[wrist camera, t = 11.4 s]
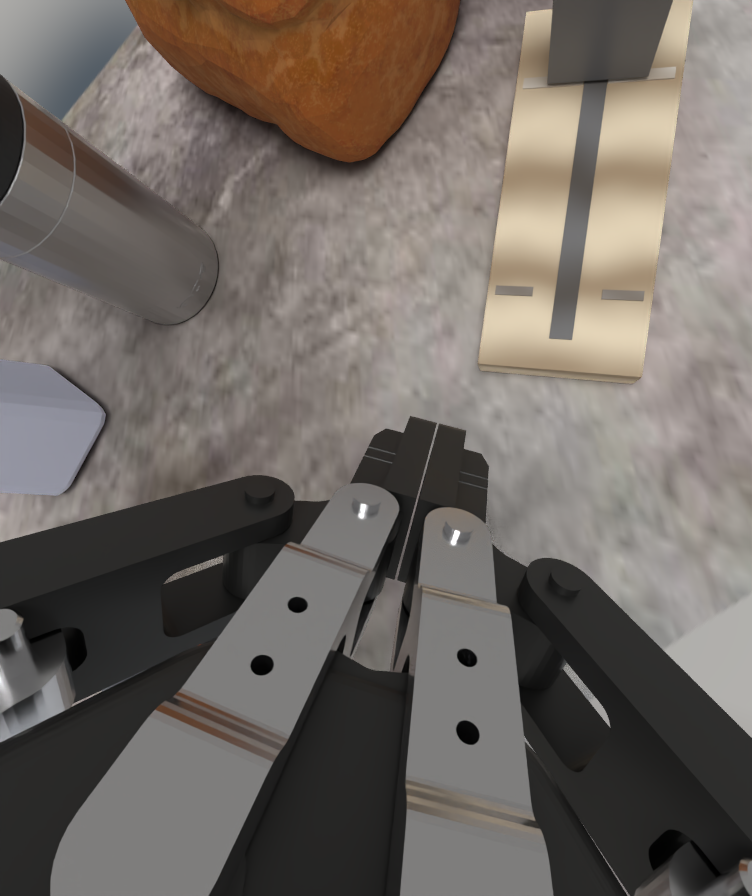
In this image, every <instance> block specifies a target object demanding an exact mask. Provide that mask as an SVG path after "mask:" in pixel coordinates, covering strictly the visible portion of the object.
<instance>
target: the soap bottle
mask: <svg viewBox="0 0 752 896" xmlns="http://www.w3.org/2000/svg"><path fill="white" fill-rule="evenodd" d="M105 417H106V414H105V412H104V410H103V409H102V407H101V406H100V405H99V404H98V403H96V402H95V401H94V400H93V399H91V398H90V397H89V396H87V395H86V394H85V393H83V392H82V391H81V390H80V389H78V388H77V387H76V386H74V385H73V384H72V383H70V382H69V381H68V380H67V379H65V378H64V377H63V376H61V375H60V374H59V373H57V372H56V371H55V370H54V369H52V368H51V367H50V366H48V365H41V364H34V363H26V362H18V361H10V360H3V359H0V493H19V494H37V495H56V496H57V495H59V494H61V493H63V492H64V491H66V490H67V489H68V488H69V487H70V486H71V484H72V482H73V480H74V478H75V477H76V475H77V473H78V471H79V469H80V467H81V465H82V464H83V462H84V460H85V458H86V456H87V454H88V453H89V451H90V449H91V447H92V445H93V443H94V442H95V440H96V438H97V436H98V434H99V432H100V430H101V429H102V427H103V425H104V423H105Z"/></svg>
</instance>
